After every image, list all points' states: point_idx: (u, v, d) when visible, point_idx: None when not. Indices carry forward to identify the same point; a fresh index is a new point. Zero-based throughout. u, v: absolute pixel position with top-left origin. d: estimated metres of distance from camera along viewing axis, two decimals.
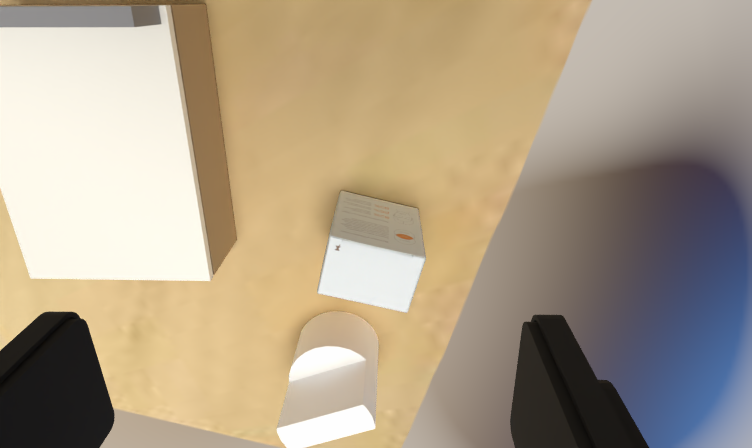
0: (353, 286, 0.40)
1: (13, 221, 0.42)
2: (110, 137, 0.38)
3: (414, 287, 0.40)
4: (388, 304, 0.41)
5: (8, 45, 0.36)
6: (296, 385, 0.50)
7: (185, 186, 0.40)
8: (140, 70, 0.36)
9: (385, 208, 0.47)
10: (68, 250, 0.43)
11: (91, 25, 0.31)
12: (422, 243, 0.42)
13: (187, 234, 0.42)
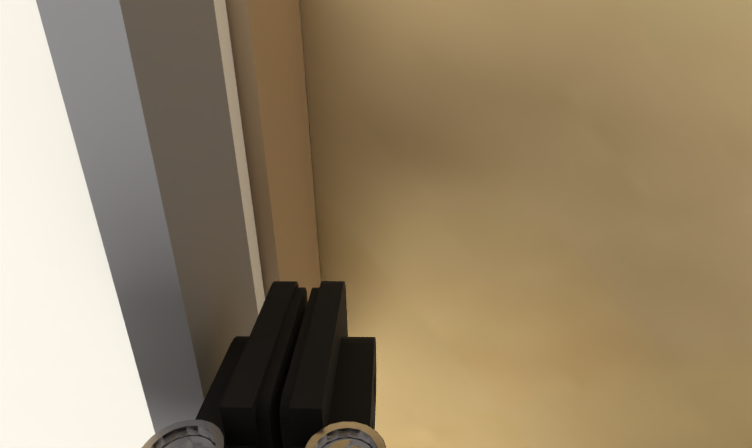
0: None
1: None
2: None
3: None
4: None
5: None
6: None
7: None
8: (142, 437, 0.16)
9: None
10: None
11: None
12: None
13: None
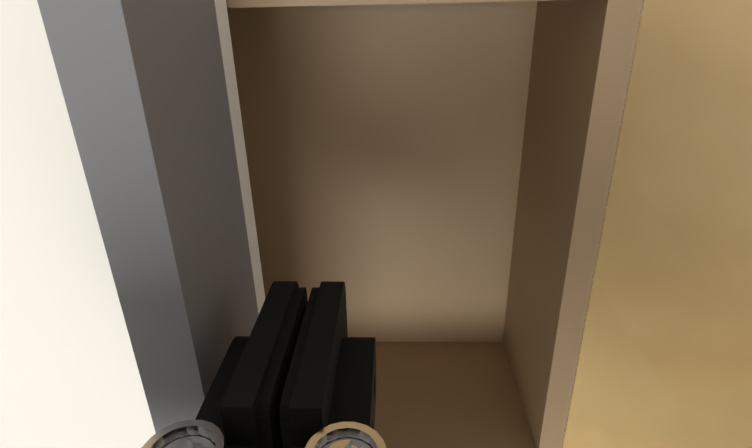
0: None
1: None
2: None
3: None
4: None
5: None
6: None
7: None
8: (143, 435, 0.16)
9: None
10: None
11: None
12: None
13: None
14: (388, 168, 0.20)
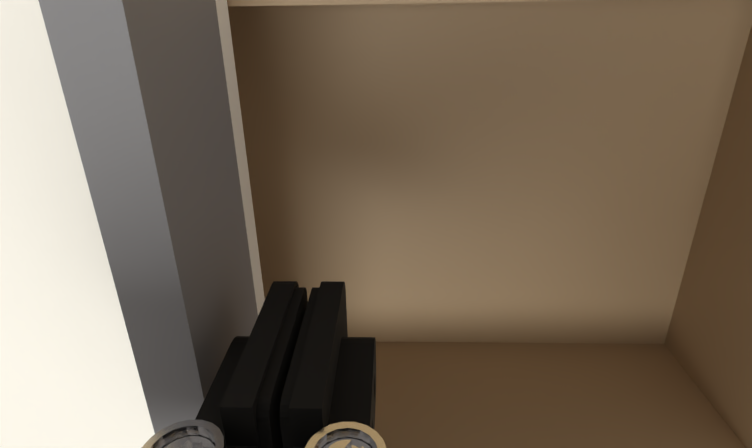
0: None
1: None
2: None
3: None
4: None
5: None
6: None
7: None
8: (141, 434, 0.16)
9: None
10: None
11: None
12: None
13: None
14: (577, 167, 0.19)
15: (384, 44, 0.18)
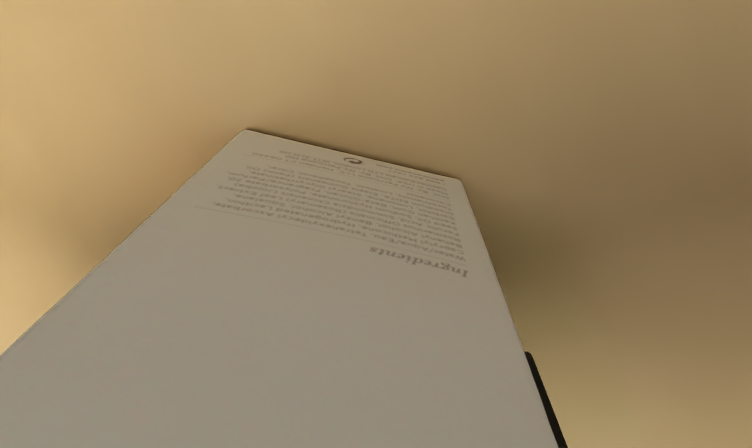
0: None
1: None
2: None
3: None
4: None
5: None
6: None
7: None
8: None
9: None
10: None
11: None
12: None
13: None
14: None
15: None
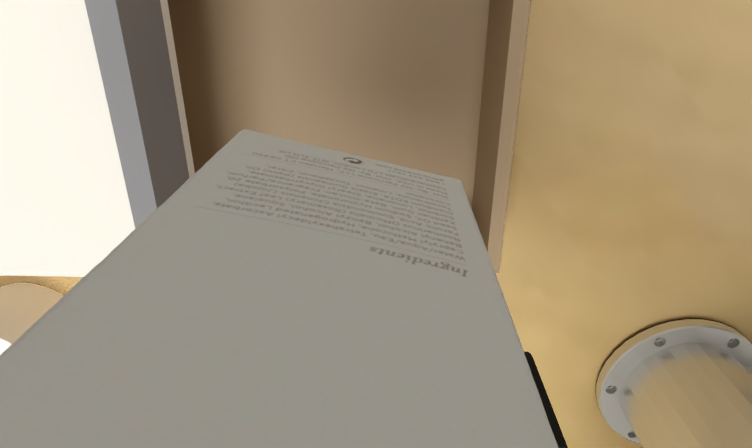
0: None
1: None
2: (16, 178, 0.26)
3: None
4: None
5: None
6: None
7: None
8: (122, 236, 0.28)
9: None
10: None
11: None
12: None
13: None
14: (398, 93, 0.31)
15: (273, 13, 0.29)
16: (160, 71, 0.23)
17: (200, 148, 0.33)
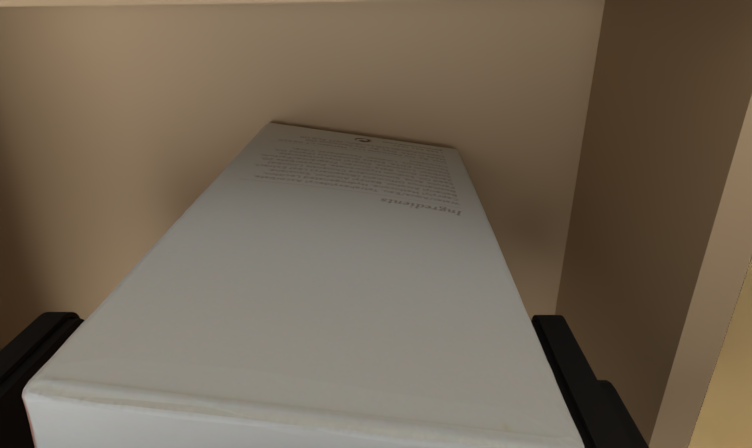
0: None
1: None
2: None
3: None
4: None
5: None
6: None
7: None
8: None
9: None
10: None
11: None
12: None
13: None
14: None
15: (123, 59, 0.13)
16: None
17: (17, 312, 0.17)
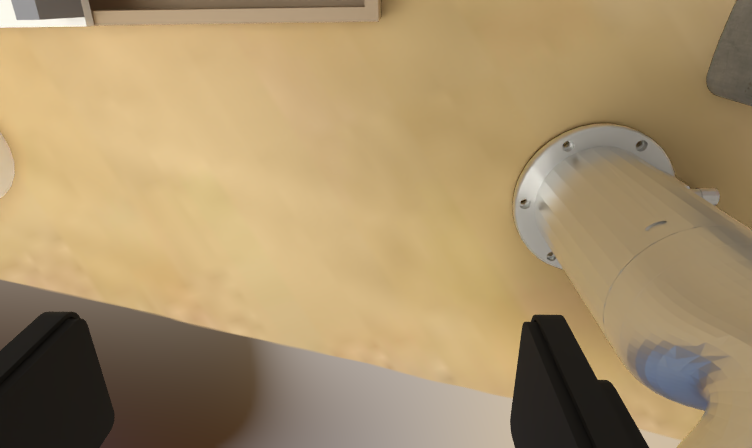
0: None
1: None
2: None
3: None
4: None
5: None
6: None
7: None
8: None
9: None
10: None
11: None
12: None
13: None
14: None
15: None
16: None
17: None
